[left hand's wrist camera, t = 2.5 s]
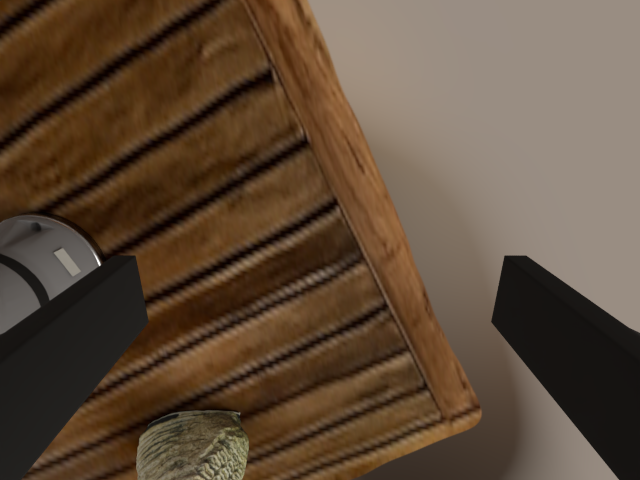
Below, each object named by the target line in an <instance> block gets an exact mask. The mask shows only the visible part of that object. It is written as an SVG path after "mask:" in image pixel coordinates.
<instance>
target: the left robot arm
mask: <svg viewBox="0 0 640 480" xmlns="http://www.w3.org/2000/svg"><path fill="white" fill-rule="evenodd" d="M148 322H149V321H148V316H147V311H146V306H145V301H144V296H143V291H142V286H141V281H140V276H139V271H138V266H137V261H136V256H113V257H111V258H110V259H108V260H107V261H106V259H105V257H104V255H103V253H102V251H101V249H100V248H99V246H98V245H97V243H96V242H95V241H94V240H93V239H92V238H91V237H90V236H89V235H88V234H87V233H86V232H85V231H84V230H83V229H81V228H80V227H78V226H77V225H75V224H74V223H72V222H70V221H68V220H66V219H64V218H61V217H59V216H56V215H52V214H47V213H25V214H21V215H18V216H15V217H12V218H9V219H7V220H4V221H2V222H1V223H0V480H21V479H22V478H23V476H24V475H25V474H26V473H27V471H28V470H29V469H30V468H31V467H32V465H33V464H34V463H35V462H36V460H37V459H38V458H39V457H40V455H41V454H42V453H43V452H44V450H45V449H46V448H47V447H48V446H49V444H50V443H51V442H52V441H53V439H54V438H55V437H56V436H57V434H58V433H59V432H60V431H61V430H62V428H63V427H64V426H65V425H66V423H67V422H68V421H69V420H70V418H71V417H72V416H73V415H74V413H75V412H76V411H77V410H78V409H79V407H80V406H81V405H82V404H83V402H84V401H85V400H86V399H87V397H88V396H89V395H90V394H91V393H92V391H93V390H94V389H95V388H96V386H97V385H98V384H99V383H100V381H101V380H102V379H103V378H104V376H105V375H106V374H107V373H108V372H109V370H110V369H111V368H112V367H113V365H114V364H115V363H116V362H117V360H118V359H119V358H120V357H121V356H122V354H123V353H124V352H125V351H126V349H127V348H128V347H129V346H130V344H131V343H132V342H133V341H134V339H135V338H136V337H137V336H138V335H139V333H140V332H141V331H142V330H143V328H144V327H145V326H146V325H147V323H148ZM491 322H492V323H493V325H494V326H495V327H496V328H497V330H498V331H499V332H500V333H501V335H502V336H503V337H504V338H505V339H506V341H507V342H508V343H509V344H510V346H511V347H512V348H513V349H514V351H515V352H516V353H517V354H518V355H519V357H520V358H521V359H522V360H523V362H524V363H525V364H526V365H527V367H528V368H529V369H530V370H531V372H532V373H533V374H534V375H535V376H536V378H537V379H538V380H539V381H540V383H541V384H542V385H543V386H544V388H545V389H546V390H547V391H548V393H549V394H550V395H551V396H552V397H553V399H554V400H555V401H556V402H557V404H558V405H559V406H560V407H561V408H562V410H563V411H564V412H565V413H566V415H567V416H568V417H569V418H570V420H571V421H572V422H573V423H574V425H575V426H576V427H577V428H578V430H579V431H580V432H581V433H582V434H583V436H584V437H585V438H586V439H587V441H588V442H589V443H590V444H591V446H592V447H593V448H594V449H595V451H596V452H597V453H598V454H599V455H600V457H601V458H602V459H603V460H604V462H605V463H606V464H607V465H608V466H609V468H610V469H611V470H612V471H613V473H614V474H615V475H616V476H617V478H618V479H619V480H640V333H639V332H637V331H634V330H632V329H630V328H628V327H627V326H625V325H624V324H623V323H621V322H620V321H618V320H617V319H615V318H614V317H613V316H611V315H610V314H608V313H607V312H606V311H604V310H603V309H601V308H600V307H598V306H597V305H596V304H594V303H593V302H591V301H590V300H588V299H587V298H586V297H584V296H583V295H581V294H580V293H579V292H577V291H576V290H574V289H573V288H571V287H570V286H569V285H567V284H566V283H564V282H563V281H562V280H560V279H559V278H557V277H556V276H554V275H553V274H551V273H550V272H549V271H547V270H546V269H544V268H543V267H542V266H540V265H539V264H537V263H536V262H534V261H533V260H532V259H530V258H529V257H527V256H504V261H503V266H502V271H501V276H500V281H499V286H498V291H497V296H496V301H495V306H494V311H493V316H492V321H491Z"/></svg>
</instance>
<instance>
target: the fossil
mask: <svg viewBox="0 0 640 480" xmlns="http://www.w3.org/2000/svg"><path fill="white" fill-rule="evenodd" d="M239 417H240V413H237V412H233V411H218V410H213V411H212V410H206V411H198V410H195V411H185V412H177V413H172V414H169V415H167V416H164V417H161V418H160V419H158V420H155V421H153V422H152V423H150V424H149V425H148V427H147V429H146V431H145V432H144V433H143V434H142V435H141V436H140V438H139V446H138V454H137V461H136V462H137V466H136V468H137V472H138V480H242V478H243V475H244V471H245V466H246V462H247V455H248V448H249V439H248V436H247V434H246V433H245V432H244V430H243V429H242V427H241V426H240V423H241V422H240V418H239Z"/></svg>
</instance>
